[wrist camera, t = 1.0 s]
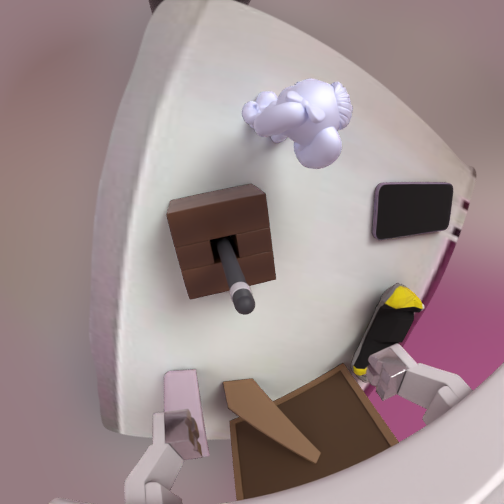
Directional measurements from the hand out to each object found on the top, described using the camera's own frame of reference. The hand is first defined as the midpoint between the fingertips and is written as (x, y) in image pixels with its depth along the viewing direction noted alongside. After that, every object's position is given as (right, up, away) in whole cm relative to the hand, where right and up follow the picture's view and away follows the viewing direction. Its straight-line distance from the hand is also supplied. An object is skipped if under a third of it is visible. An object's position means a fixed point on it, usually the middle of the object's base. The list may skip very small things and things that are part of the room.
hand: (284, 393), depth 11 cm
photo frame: (+3, -15, +30) cm, 33 cm away
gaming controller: (+18, -4, +29) cm, 34 cm away
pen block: (-5, +8, +17) cm, 20 cm away
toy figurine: (0, +19, +14) cm, 24 cm away
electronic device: (-11, -14, +26) cm, 31 cm away
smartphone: (+21, +12, +22) cm, 33 cm away
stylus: (-5, +8, +17) cm, 20 cm away
